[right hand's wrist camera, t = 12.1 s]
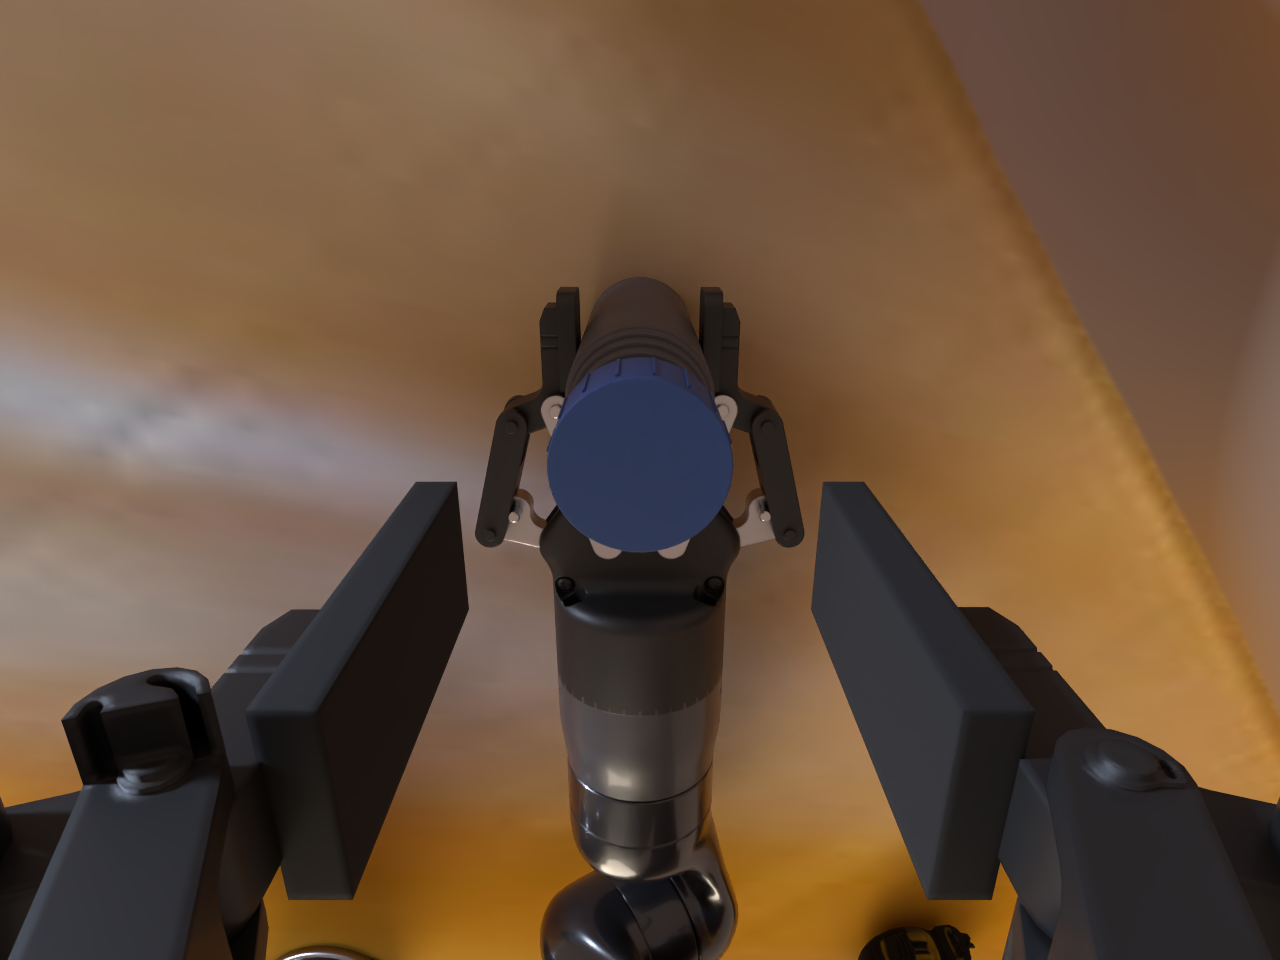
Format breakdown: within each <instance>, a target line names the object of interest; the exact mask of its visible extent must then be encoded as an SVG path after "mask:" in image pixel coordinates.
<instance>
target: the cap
mask: <svg viewBox="0 0 1280 960" xmlns="http://www.w3.org/2000/svg"><path fill="white" fill-rule="evenodd" d="M731 443H732V441H731V438H730V435H729V432H728V429H727V427H726V424H725V421H724V420H722V418H721V415H720V413H719V410H718V407H717V405H716V403H715V400H714V397H713V394H712V392H711V391H709V392H708V390H707V389H706V388H705V386H704V385H703V384H702V383H701V382H700V381H699V380H698V379H697V378H695V377H694V376H693V375H692V374H690V373H689V372H688V370H687V369H686V368H684V369H682V368H681V367H679V366H676V365H674V364H672V363H669V362H666V361H662V360H659V359H655V357H652V358H627V359H622V360H620V358H619V359H617V361H614V362H611V363H609V364H606V365H603V366H601V367H600V368H598V369H596V370H594V371H593V372H591V373H590V374H589V372H588V373H587V374H586V376H585V377H584V378H583V379H582V380H581V381H580V382H579V383H578V384H577V385H576V386H575V388H574V389H573V390H572V392H571V393H570V394H569V396H568V398H567V397H565V398H564V401H563V403H562V406H561V409H560V412H559V415H558V421H557V424H556V427H555V428H554V430H553V433H552V436H551V439H550V442H549V445H548V448H547V452H548V458H547V474H548V480H549V485H550V488H551V491H552V495H553V497H554V499H555V501H556V503H557V505H558V507H559V509H560V510H561V512H562V513H563V515H564V516H565V517H566V518H567V520H568V521H569V522H570V523H571V524H572V525H573V526H574V527H575V528H576V529H577V530H579V531H580V532H581V533H582V534H584V535H585V536H587V537H588V538H590V539H592V540H593V541H595V542H597V543H599V544H602V545H604V546H607V547H609V548H613V549H617V550H621V551H628V552H653V551H659V550H663V549H668V548H670V547H673V546H676V545H679V544H681V543H683V542H685V541H687V540H689V539H690V538H692V537H693V536H695V535H696V534H698V533H699V532H700V531H701V530H703V529H704V528H705V527H706V526H707V525H708V524H709V523H710V522H711V521H712V520H713V519H714V517H715V516H716V515H717V513H718V512H719V510H720V509H721V507H722V505H723V503H724V501H725V499H726V497H727V494H728V492H729V489H730V485H731V480H732V474H733V457H732V450H731V445H730V444H731Z"/></svg>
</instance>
